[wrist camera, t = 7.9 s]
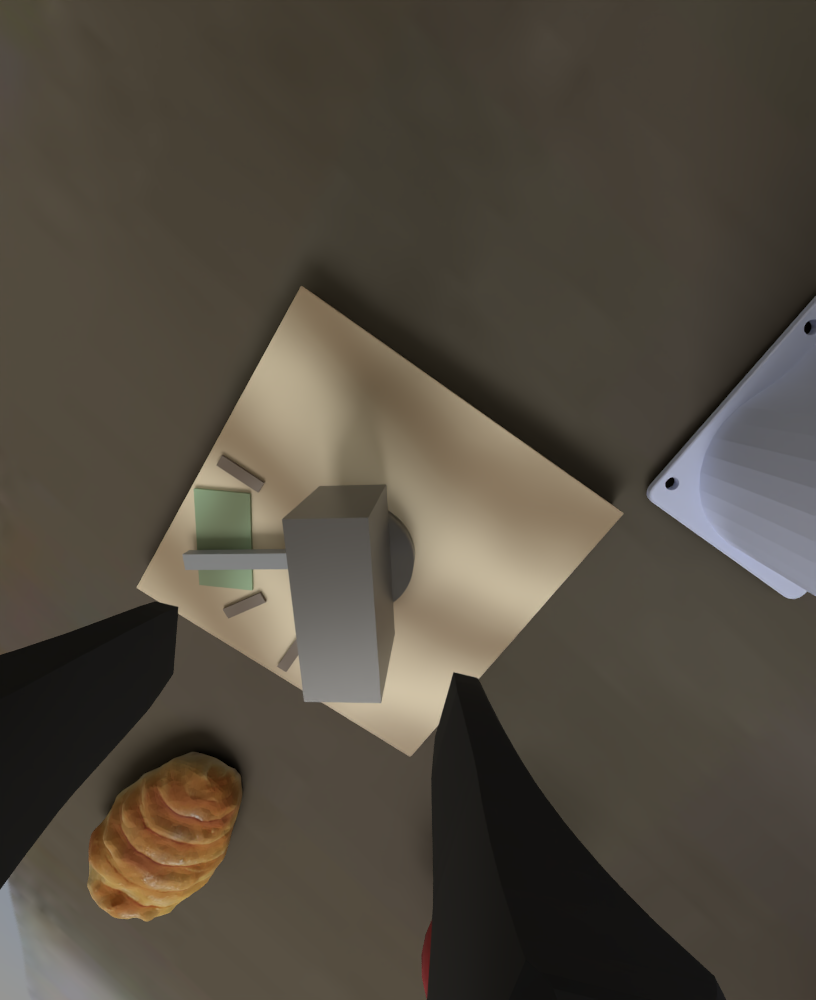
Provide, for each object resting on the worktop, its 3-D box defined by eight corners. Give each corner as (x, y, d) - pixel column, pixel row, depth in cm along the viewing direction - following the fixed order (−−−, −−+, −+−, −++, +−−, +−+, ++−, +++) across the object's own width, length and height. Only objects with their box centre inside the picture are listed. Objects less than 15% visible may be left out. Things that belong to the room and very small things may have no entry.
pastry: (171, 716, 24) (123, 776, 21) (279, 779, 25) (251, 849, 21) (103, 821, 27) (49, 892, 23) (202, 876, 27) (165, 955, 24)
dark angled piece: (411, 478, 18) (399, 517, 13) (417, 621, 20) (408, 703, 15) (181, 483, 19) (87, 522, 14) (205, 620, 21) (129, 698, 16)
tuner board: (310, 291, 18) (299, 285, 17) (612, 505, 19) (625, 514, 18) (152, 576, 22) (134, 589, 20) (412, 737, 23) (410, 759, 22)
